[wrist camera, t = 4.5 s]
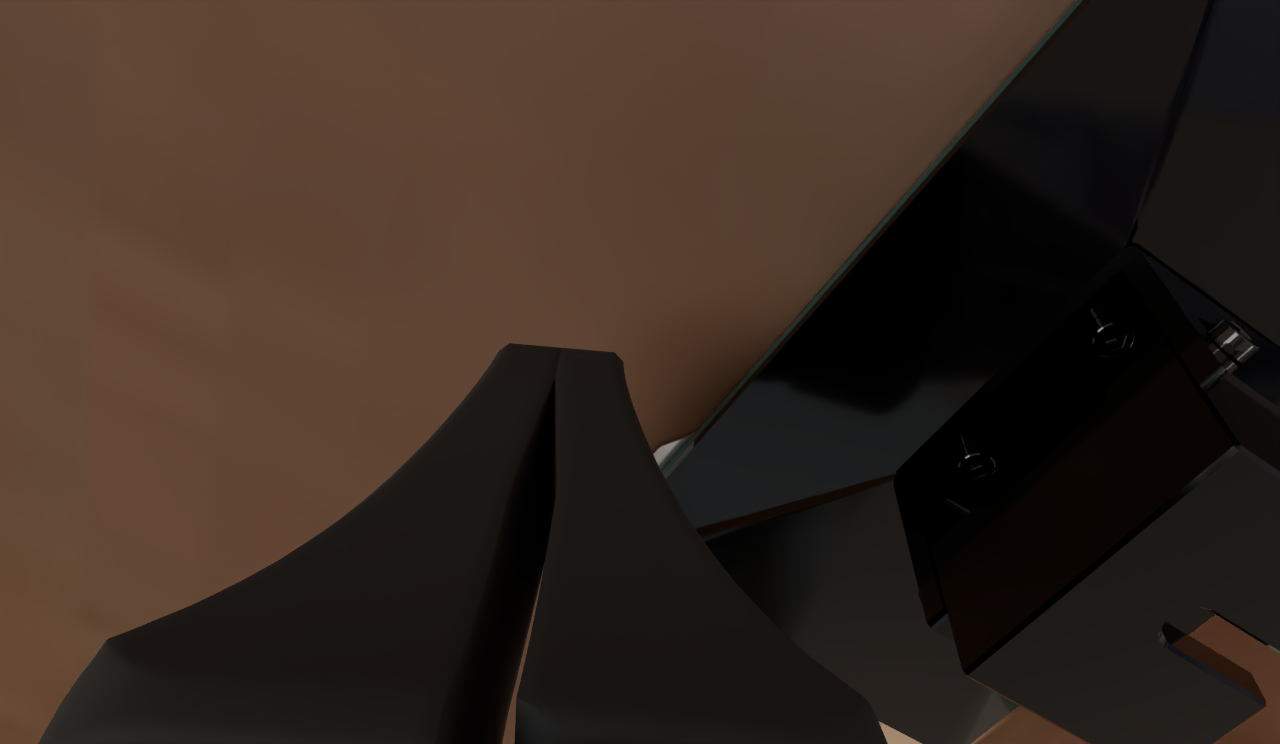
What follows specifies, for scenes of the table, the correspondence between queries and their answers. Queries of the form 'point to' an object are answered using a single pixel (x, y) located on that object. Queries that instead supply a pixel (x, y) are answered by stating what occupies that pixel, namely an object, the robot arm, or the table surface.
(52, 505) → the table surface
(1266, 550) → the build plate
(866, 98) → the table surface
